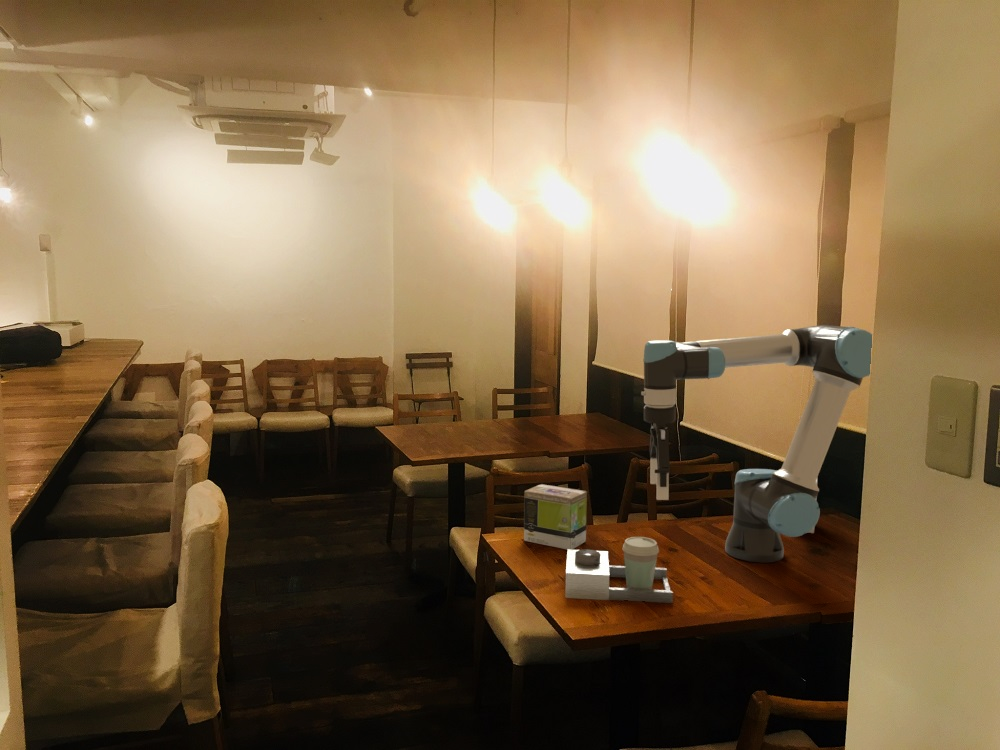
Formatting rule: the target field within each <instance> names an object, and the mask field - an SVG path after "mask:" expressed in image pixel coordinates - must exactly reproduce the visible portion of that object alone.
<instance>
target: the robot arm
mask: <svg viewBox="0 0 1000 750" xmlns="http://www.w3.org/2000/svg"><path fill="white" fill-rule="evenodd" d="M872 335H873V334H872V333H871V332H870V331H868V330H865V329H862V328H858V327H854V326H840V325H834V324H821V325H813V326H807V327H801V328H800V327H799V328H794V329H793V328H791V329H786V330H784V331H783V332H782V333H780V334H768V335H767V334H766V335H756V336H754V335H753V336H744V337H743V336H742V337H731V338H719V339H706V340H705V339H704V340H695V341H685V342H684V341H683V342H679V341H676V340H675V341H674V340H666V339H665V340H661V339H658V340H648V341H647V342H646V343H645V344H644V350H643V359H642V360H643V390H644V391H641V393H640V394H641V396H643V403H644V404H645V405H644V406H643V421H644V422H645V423H649V424H650V430H649V431H650V432H649V433H650V438H649V439H650V441H649V450H648V451H649V456H650V459H649V460H650V466H649V470H650V471H649V472H650V473H649V477H650V481H649V482H650V485H656V501H662V500H663V501H669V497H670V495H669V493H670V492H669V491H670V490H669V487H670V485H669V483H670V482H669V481H670V478H669V477H670V472H671V468H670V466H671V465H670V448H669V447H670V446H669V445H670V443H669V435H670V430H669V429H668V427H667V426H666V425H667V424H673V423H674V422H675V421H676V418H677V417H676V415H677V414H676V411H677V410H676V409H677V408H676V406H675V405H676V403H677V380H679V381H680V380H701V379H703V380H704V379H707V380H709V379H715V378H720V377H721V376H722V375H723V374H724V372H725V370H726V369H729V368H735V367H736V368H737V367H738V368H740V367H747V366H759V365H773V364H785V365H786V366H788V367H793V366H800V367H801V366H804V367H810V368H812V370H811V372H812V374H813V377H814V383H813V386H812V388H811V391H810V394H809V396H808V399H807V402H806V404H805V407H804V408H803V411H802V414H801V417H800V420H799V422H798V425H797V427H796V430H795V432H794V435H793V437H792V440H791V443H790V445H789V448H788V450H787V452H786V455H785V459H784V461H783V463H782V465H781V468H779V469H778V470H777V469H776V470H775V469H771V468H769V469H768V468H746V469H745V468H744V469H740V470H738V471H737V472H736V474H735V478H734V483H733V484H734V496H733V497H734V499H733V518H732V519H733V521H732V525H731V528H730V529H729V532H728V535H727V537H726V538H725V539H726V540H725V544H724V545H725V547H724V551H725V553H727V554H728V555H729V556H731V557H732V558H735V559H739V560H741V561H746V562H753V563H763V564H764V563H774V562H779V561H781V560H783V558H784V555H785V553H784V552H785V551H784V550H785V548H784V544H783V541H782V537H781V535H784V536H786V537H790V538H796V537H800V536H803V535H805V534H807V533H808V532H809V531H810V530H811V529H813V527H814V526H815V527H816V525H817V524H818V521H819V519H820V514H821V511H820V510H821V508H820V507H819V503H818V501H817V500H816V497H817V498H818V494H819V492H820V488H819V487H818V483H817V484H816V479H817V478H818V476H819V473H820V472H821V468H822V465H823V464H824V461H825V459H826V456H827V453H828V451H829V448H830V445H831V443H832V441H833V438H834V436H835V432H836V430H837V427H838V425H839V422H840V419H841V418H842V415H843V412H844V409H845V407H846V404H847V401H848V400H849V397H850V394H851V393H852V391H854V390H857V389H859V388H860V386H861V384H862V382H863V379H864V378H867V377H869V376H870V375H871V374H870V364H871V348H872ZM817 480H818V479H817Z"/></svg>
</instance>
